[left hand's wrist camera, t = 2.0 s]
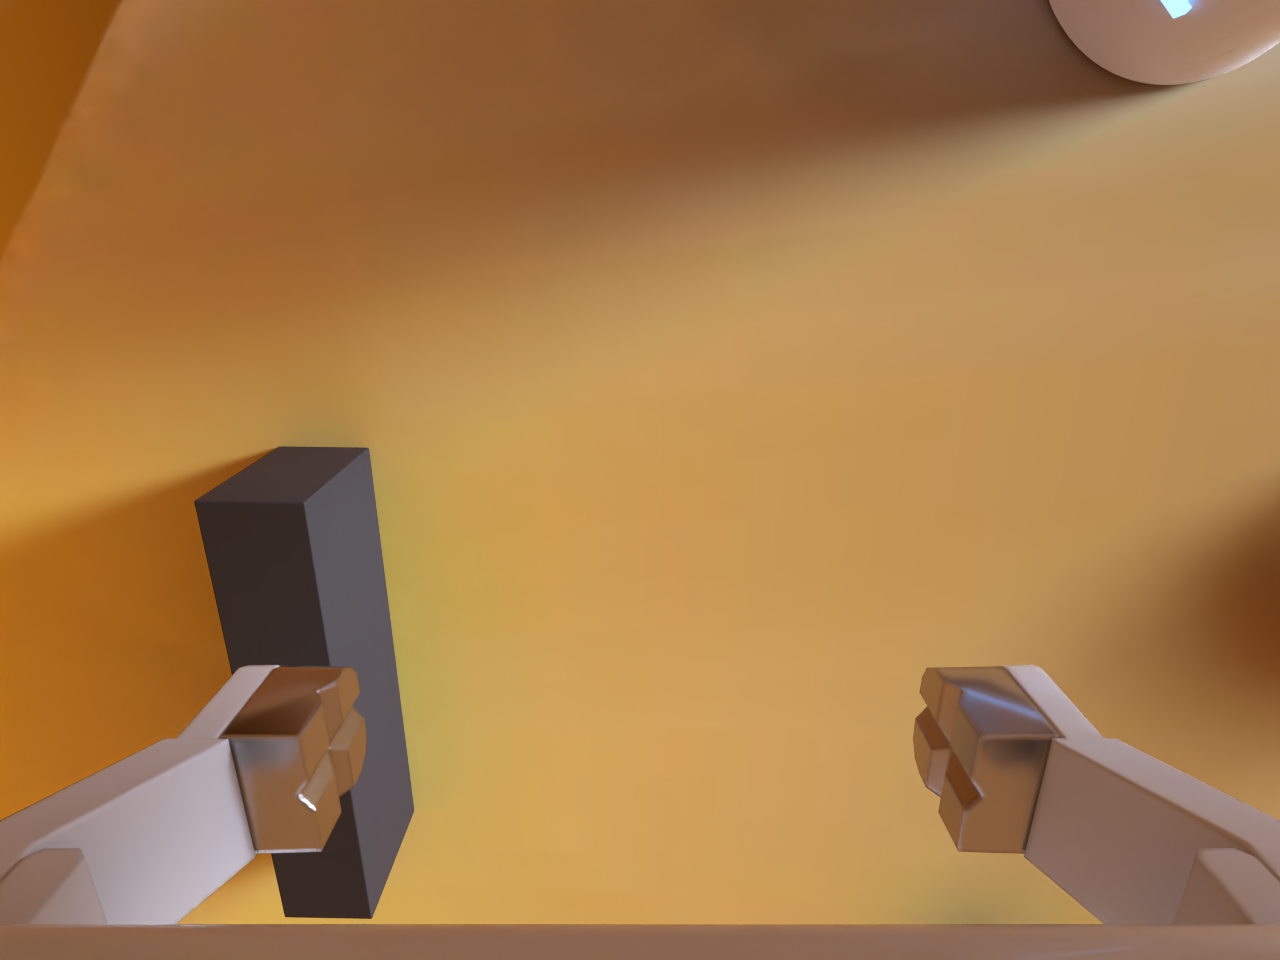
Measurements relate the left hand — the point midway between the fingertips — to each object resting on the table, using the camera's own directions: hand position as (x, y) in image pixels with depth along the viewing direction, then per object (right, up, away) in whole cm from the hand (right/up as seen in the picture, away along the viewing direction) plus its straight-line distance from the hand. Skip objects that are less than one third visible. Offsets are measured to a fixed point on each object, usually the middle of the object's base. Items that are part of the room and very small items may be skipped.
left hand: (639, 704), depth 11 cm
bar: (-18, -7, +36) cm, 41 cm away
